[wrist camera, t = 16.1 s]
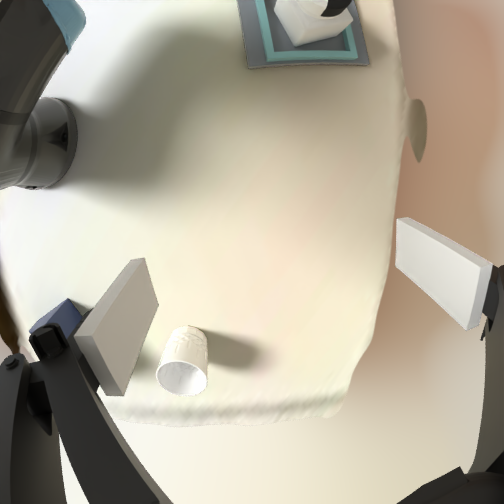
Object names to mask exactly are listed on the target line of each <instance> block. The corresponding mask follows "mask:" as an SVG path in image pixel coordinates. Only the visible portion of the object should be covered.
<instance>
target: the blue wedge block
mask: <svg viewBox="0 0 504 504" xmlns="http://www.w3.org/2000/svg"><path fill="white" fill-rule="evenodd" d="M81 319H82V315H81V314H80V313H79V312H78V310H77V309H76V308H75V307H74V305H73V304H72V303H71V301H70V300H69V299H68V298H67V299H66V300H65V301H63V302H62V303H61V304H59V305H58V306H57V307H55V308H54V309H53V310H51V311H50V312H49V313H47V314H46V315H45V316H43V317H42V318H41V319H39V320H38V321H37V322H36V323H35V324H34V326H33V327H32V328H31V329H30V330H29V332H30V333H31V334H32V333H33V332H34V331H35V330H36V329H37V328H39V327H41V326H43V325H45V324H48V323H58V324H59V325H60V327H61V329H62V331H63V333H64V335H65V337H66V339H67V338H68V337H69V335H70V334H71V332H72V331H73V330H74V328H76V325H77V324H78V323H80V320H81Z"/></svg>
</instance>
